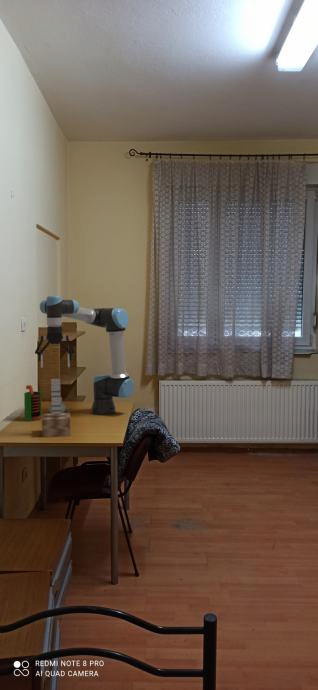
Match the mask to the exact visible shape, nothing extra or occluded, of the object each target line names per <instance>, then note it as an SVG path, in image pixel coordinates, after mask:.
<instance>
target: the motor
mask: <svg viewBox="0 0 318 690" xmlns="http://www.w3.org/2000/svg"><path fill="white" fill-rule="evenodd" d="M25 390H28V391H26V392H24V393H23V394H24V395H23V397H24V398H23V399H24V421H25V422H35V421H36V420H37V421H40V420H41V419H42V391H34V389H33V386H32V385H31V384H29V385H25ZM37 421H36V422H37Z"/></svg>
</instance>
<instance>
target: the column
mask: <svg viewBox="0 0 318 690" xmlns="http://www.w3.org/2000/svg"><path fill="white" fill-rule="evenodd" d="M50 387H51V391H50V394H51V396H50V397H51V404H50V405H51V407H52V417H54V415H59V417H61V400H60V397H62V396H61V379H60V378H51V379H50Z"/></svg>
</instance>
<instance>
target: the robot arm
mask: <svg viewBox="0 0 318 690" xmlns="http://www.w3.org/2000/svg"><path fill="white" fill-rule="evenodd" d="M39 310H40V312H41V313H42V314H45V315H46V325H47V327H46V329H47V330H46V331H47V332H46V335H43V334H42V335H41V336H40V341H39V343H38V345H37V347H36V349H35V351H34V354H36V355H38V361H39V362H40V368H41V369H42V368H44V361H43V359H44V358H43V356H44V354H43V352H44V351H45V350H46V349H47V347H48V346H49V345H59V344H60V345H61V347H63V349H64V350H65V351H66V352H67V367H68V368H70V367H71V366H70V365H71V364H70V363H71V362H70V361H72V359H73V358H72V357H73V356H72V354H75V353H76V350H75V348H74V347H73V345H72V343H71V341H70V339H69V335H68V334H66V335H63V326H62V325H63V318H69V319H72V320H76V321H82V322H84V323H85V324H88V325H91V326H94V327H98V328H103V329H105V332H106V333H107V334H108V337H109V338H108V339H109V351H110V363H111V373H109V374H101V375H95V376H94V377H93V401H92V406H91V408H90V413H92V414H94V415H95V414H96V415H111V414H114V413H116V411H117V410H116V405H115V402H114V399H113V397H114V398H115V397H116V398H120V399H123V398H125V399H127V398H129V397H130V396H131V395H132V394H133V392H134V390H135V383H134V380H133V379H132V378H130V374H129V373H128V372H127V363H126V348H125V339H124V338H125V337H124V333H125V332H126V328H128V326H129V323H130V318H129V315H128V312H127V311H126V310H125V309H123V308H119V307H102V308H101V307H100V308H93V307H88V308H86V307H81V306H80V303H79V302H78V301H77V300H75V299H62V296H61V295H48V296H47V297H46V299H44V300H42V301H41V302H40V304H39ZM63 339H64V340H66V343H67V345H68V346H69V347H67V346H66V344H65V343H64V342H63V341H62V340H63ZM45 340H47V342H46V343H45V344H44V346H43V347H42V344H43V342H44V341H45ZM41 347H42V349H41V350H40V348H41ZM69 348H70V349H69Z"/></svg>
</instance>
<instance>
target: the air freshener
mask: <svg viewBox="0 0 318 690" xmlns="http://www.w3.org/2000/svg"><path fill="white" fill-rule="evenodd" d="M60 400H61V413H66V411H67V409H68V408H67V405H66V404H64V403H63V397H62V396H60ZM51 405H52V404H50V405H49V407H48V411H49V413H50V414H51V413H52V407H51Z"/></svg>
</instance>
